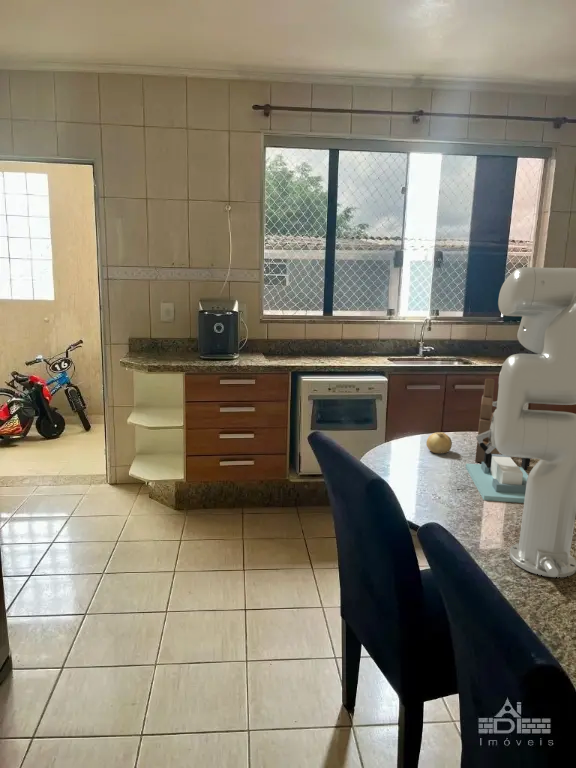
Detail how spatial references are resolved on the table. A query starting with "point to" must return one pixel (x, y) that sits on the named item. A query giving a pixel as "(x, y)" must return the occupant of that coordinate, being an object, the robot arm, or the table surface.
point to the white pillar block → (505, 470)
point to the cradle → (496, 485)
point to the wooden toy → (485, 418)
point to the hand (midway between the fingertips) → (505, 467)
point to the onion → (439, 443)
